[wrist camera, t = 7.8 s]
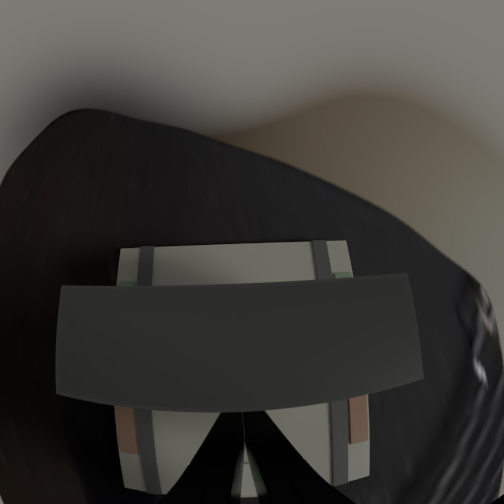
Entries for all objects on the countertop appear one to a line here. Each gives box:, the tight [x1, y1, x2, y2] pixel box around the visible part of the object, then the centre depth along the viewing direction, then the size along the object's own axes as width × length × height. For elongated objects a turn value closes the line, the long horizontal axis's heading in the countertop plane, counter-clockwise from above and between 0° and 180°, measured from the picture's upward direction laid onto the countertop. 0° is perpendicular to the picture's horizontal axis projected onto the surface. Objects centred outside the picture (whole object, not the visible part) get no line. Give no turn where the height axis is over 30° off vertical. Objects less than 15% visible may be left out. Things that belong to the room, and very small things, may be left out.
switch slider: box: [56, 273, 424, 413], centre depth 11 cm, size 3×10×10 cm, turn 93°
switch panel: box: [114, 240, 369, 497], centre depth 16 cm, size 17×16×2 cm
